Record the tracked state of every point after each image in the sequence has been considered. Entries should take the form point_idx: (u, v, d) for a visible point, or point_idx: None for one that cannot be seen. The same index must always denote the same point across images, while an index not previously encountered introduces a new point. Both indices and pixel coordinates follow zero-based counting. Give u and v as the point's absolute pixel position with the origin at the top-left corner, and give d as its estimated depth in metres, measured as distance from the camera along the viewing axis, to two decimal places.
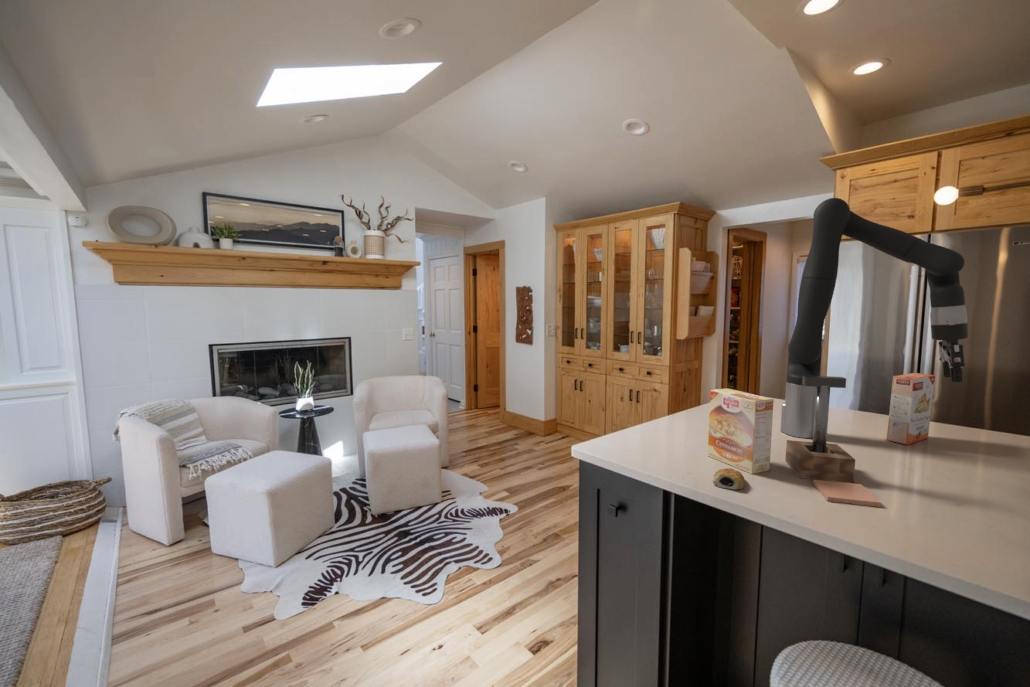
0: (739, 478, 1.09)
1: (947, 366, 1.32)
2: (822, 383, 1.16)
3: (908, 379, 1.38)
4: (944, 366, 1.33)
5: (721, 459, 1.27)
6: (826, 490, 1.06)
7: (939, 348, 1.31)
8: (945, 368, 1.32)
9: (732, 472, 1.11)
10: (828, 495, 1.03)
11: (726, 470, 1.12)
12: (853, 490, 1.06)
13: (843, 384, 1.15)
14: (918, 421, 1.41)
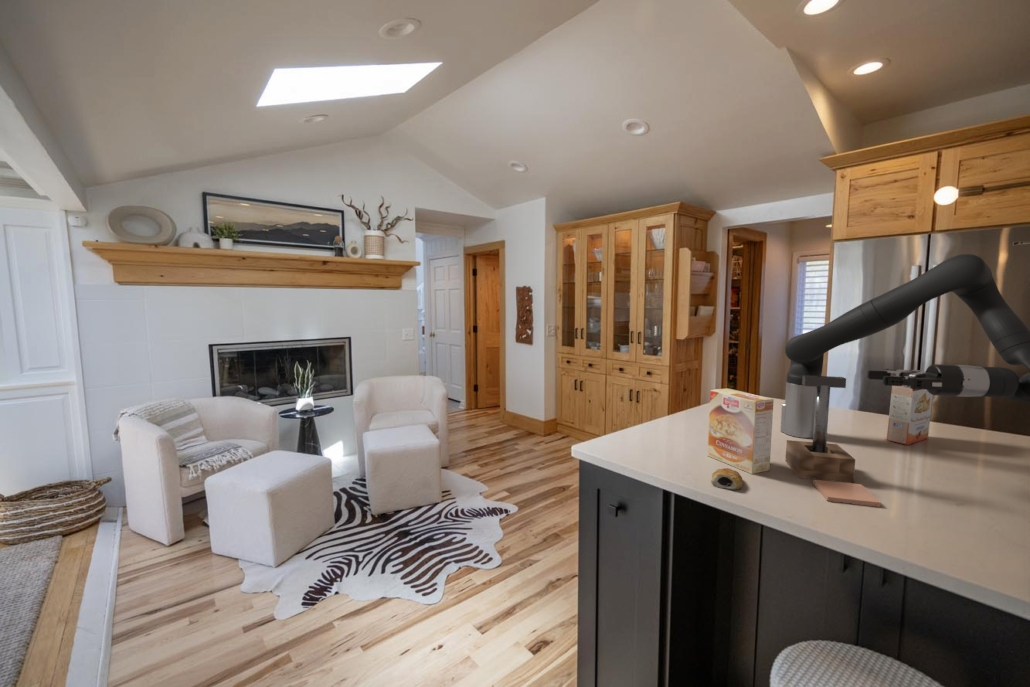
0: (737, 478, 1.10)
1: (883, 374, 1.17)
2: (822, 383, 1.16)
3: None
4: (883, 372, 1.17)
5: (721, 459, 1.27)
6: (826, 490, 1.06)
7: None
8: (880, 372, 1.17)
9: (730, 472, 1.11)
10: (828, 495, 1.03)
11: (724, 470, 1.12)
12: (853, 490, 1.06)
13: (843, 384, 1.15)
14: (918, 421, 1.41)
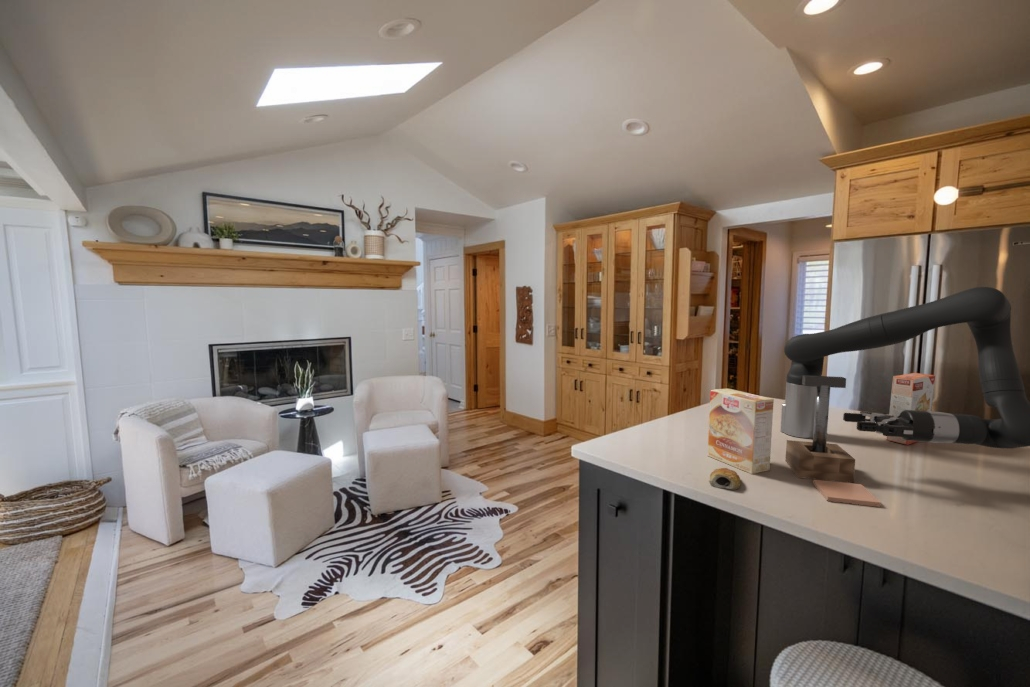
0: (735, 478, 1.10)
1: (858, 417, 1.19)
2: (822, 383, 1.16)
3: (908, 379, 1.38)
4: (858, 415, 1.19)
5: (721, 459, 1.27)
6: (826, 490, 1.06)
7: (887, 414, 1.16)
8: (856, 415, 1.19)
9: (728, 472, 1.11)
10: (828, 495, 1.03)
11: (722, 470, 1.12)
12: (853, 490, 1.06)
13: (843, 384, 1.15)
14: None
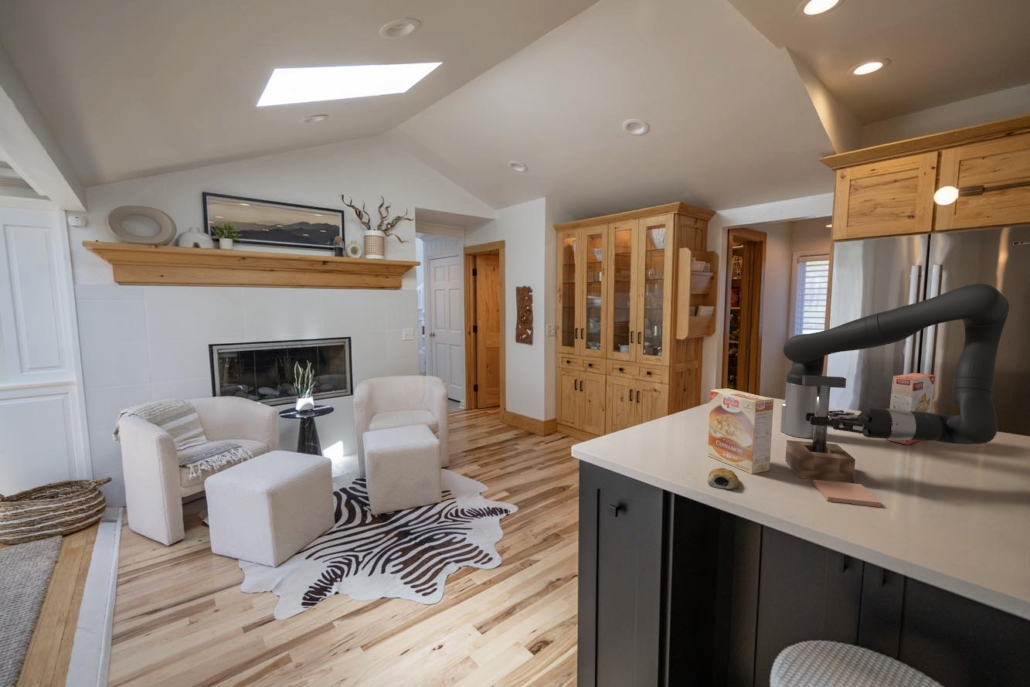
0: (733, 477, 1.10)
1: None
2: (822, 383, 1.16)
3: (908, 379, 1.38)
4: None
5: (721, 459, 1.27)
6: (826, 490, 1.06)
7: (847, 412, 1.18)
8: None
9: (726, 472, 1.11)
10: (828, 495, 1.03)
11: (720, 470, 1.12)
12: (853, 490, 1.06)
13: (843, 384, 1.15)
14: None
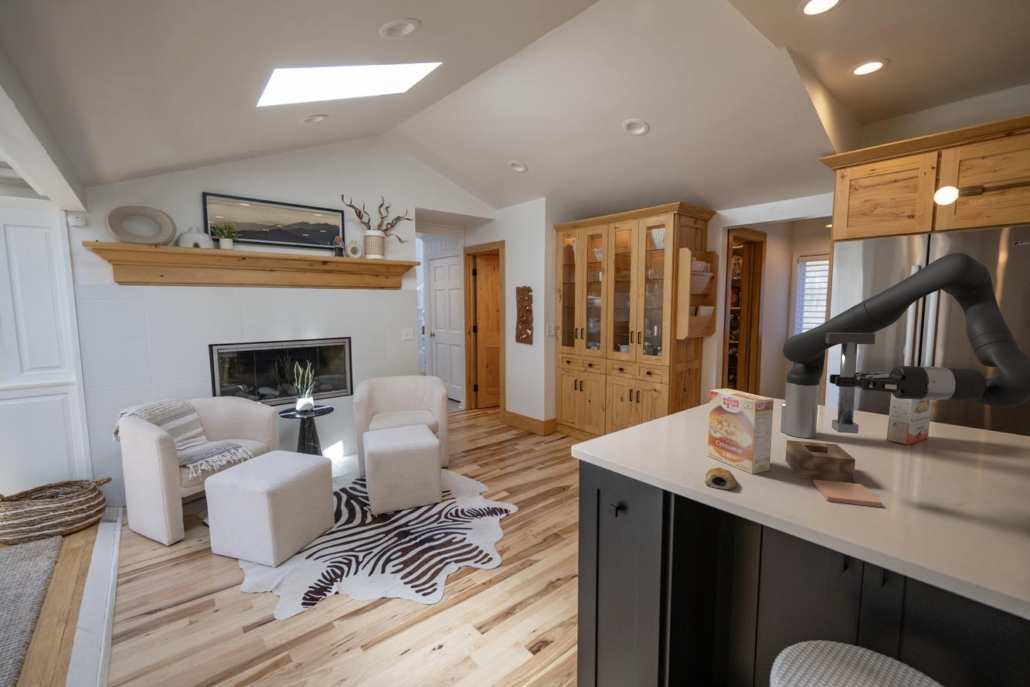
0: (731, 477, 1.10)
1: None
2: (848, 340, 1.05)
3: None
4: None
5: (721, 459, 1.27)
6: (826, 490, 1.06)
7: (876, 372, 1.07)
8: None
9: (723, 472, 1.11)
10: (828, 495, 1.03)
11: (717, 470, 1.12)
12: (853, 490, 1.06)
13: (872, 340, 1.04)
14: (918, 421, 1.41)
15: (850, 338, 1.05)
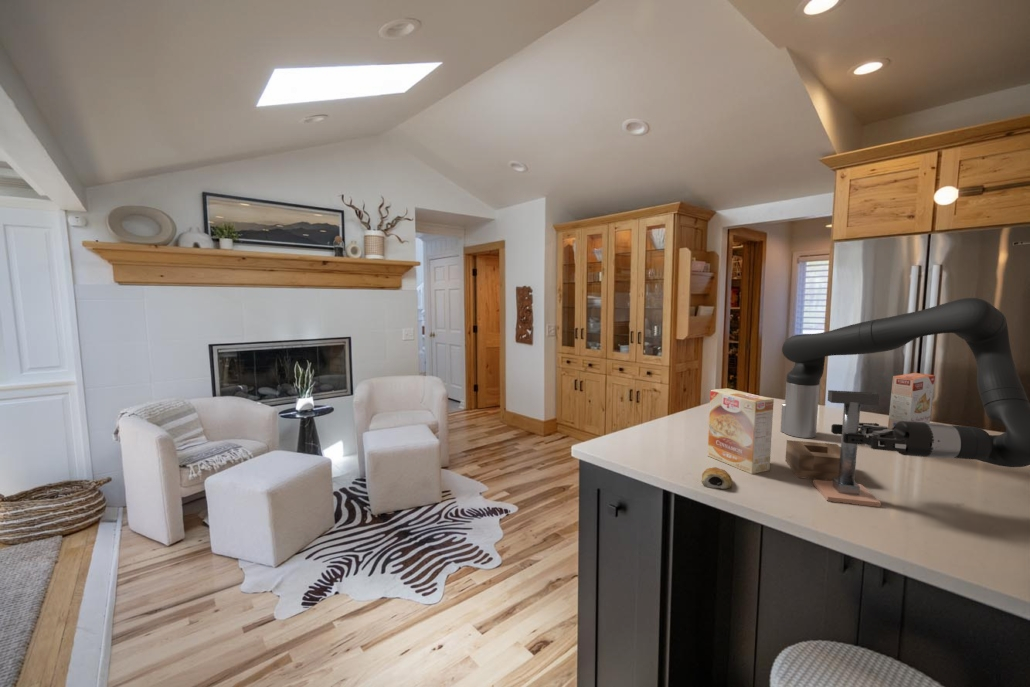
0: (727, 477, 1.10)
1: None
2: (851, 400, 1.03)
3: (908, 379, 1.38)
4: None
5: (721, 459, 1.27)
6: (826, 490, 1.06)
7: None
8: None
9: (720, 471, 1.12)
10: (828, 495, 1.03)
11: (713, 469, 1.13)
12: None
13: (875, 401, 1.01)
14: (918, 421, 1.41)
15: (853, 398, 1.02)
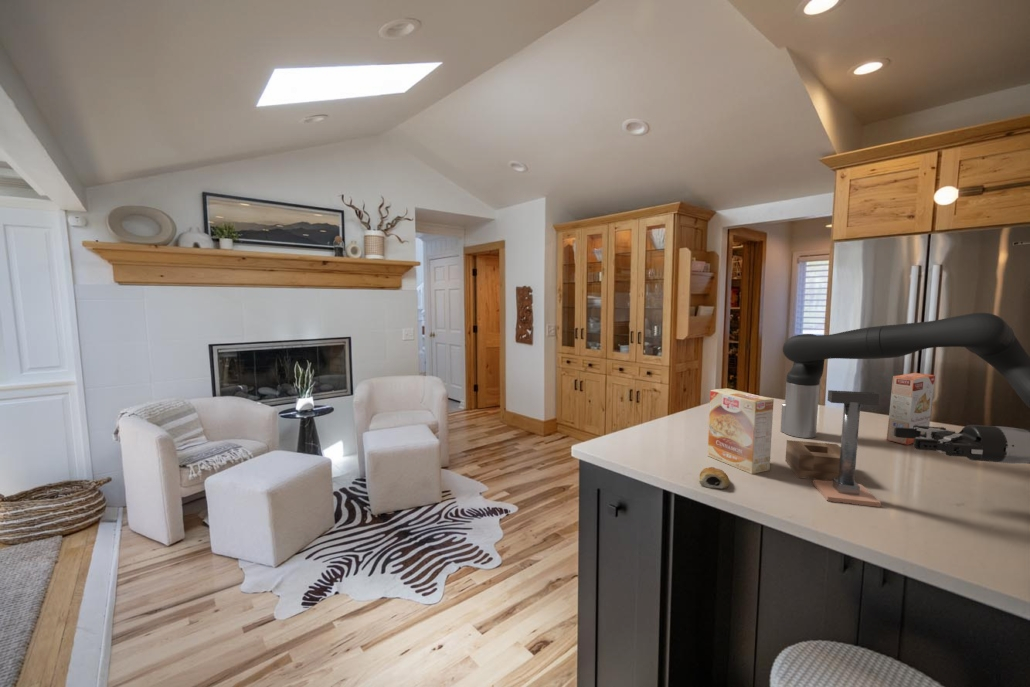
0: (725, 477, 1.10)
1: (912, 432, 1.04)
2: (851, 400, 1.03)
3: (908, 379, 1.38)
4: (912, 430, 1.04)
5: (721, 459, 1.27)
6: (826, 490, 1.06)
7: None
8: (909, 430, 1.04)
9: (717, 471, 1.12)
10: (828, 495, 1.03)
11: (711, 469, 1.13)
12: None
13: (875, 401, 1.01)
14: (918, 421, 1.41)
15: (853, 398, 1.02)
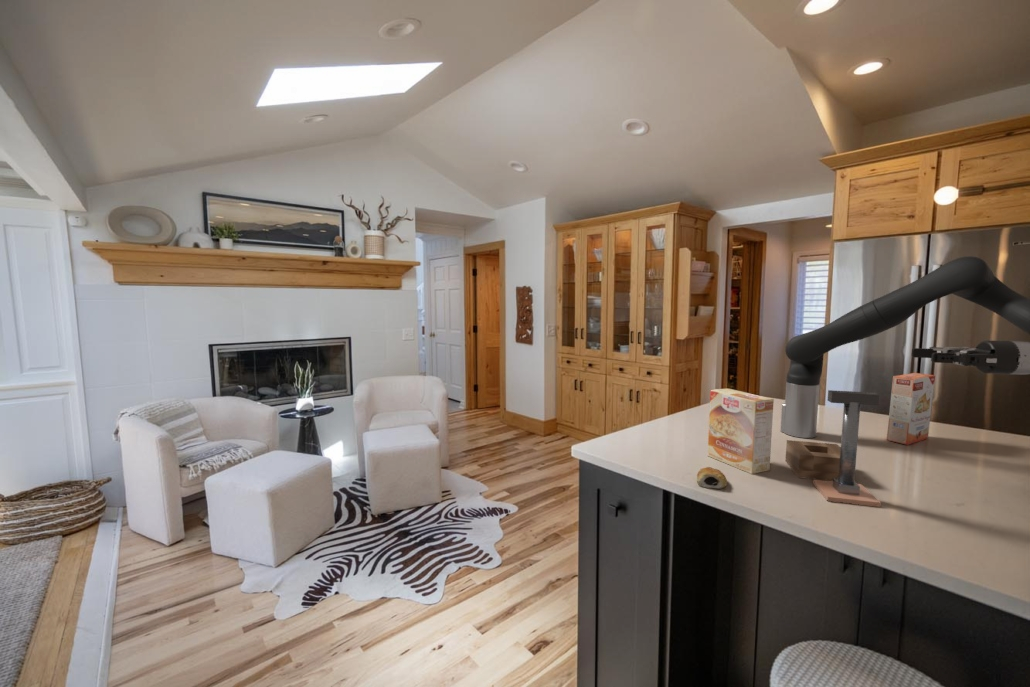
0: (722, 477, 1.10)
1: (929, 352, 1.10)
2: (851, 400, 1.03)
3: (908, 379, 1.38)
4: (929, 349, 1.10)
5: (721, 459, 1.27)
6: (826, 490, 1.06)
7: None
8: (926, 350, 1.10)
9: (715, 471, 1.12)
10: (828, 495, 1.03)
11: (708, 469, 1.13)
12: None
13: (875, 401, 1.01)
14: (918, 421, 1.41)
15: (853, 398, 1.02)
